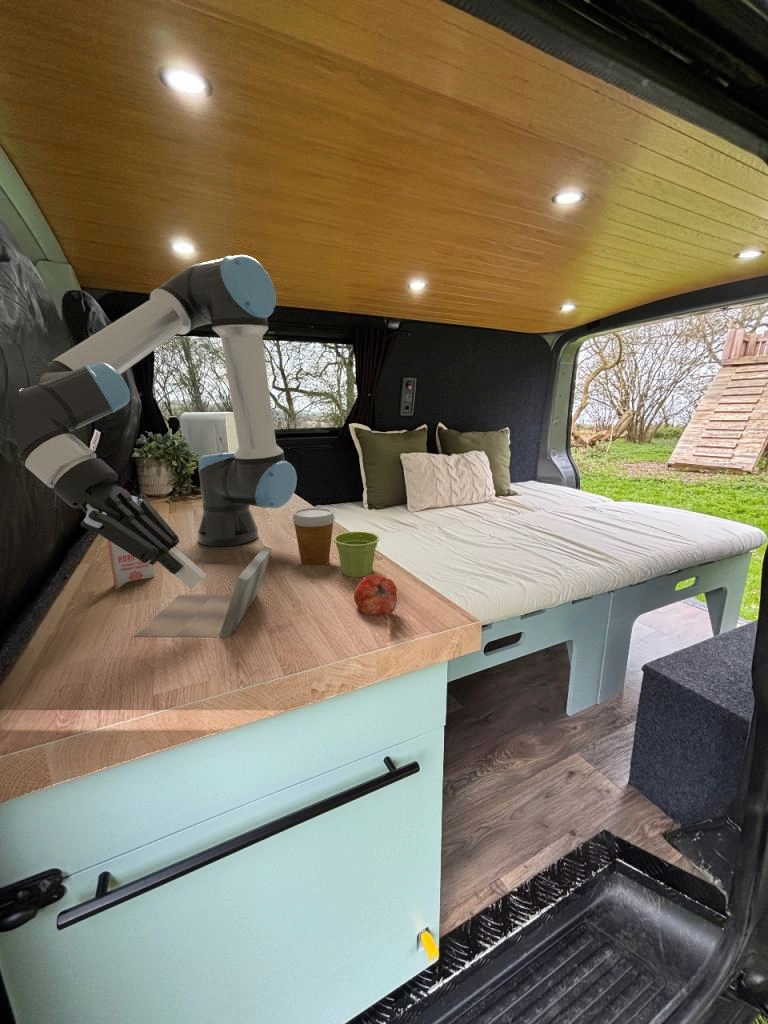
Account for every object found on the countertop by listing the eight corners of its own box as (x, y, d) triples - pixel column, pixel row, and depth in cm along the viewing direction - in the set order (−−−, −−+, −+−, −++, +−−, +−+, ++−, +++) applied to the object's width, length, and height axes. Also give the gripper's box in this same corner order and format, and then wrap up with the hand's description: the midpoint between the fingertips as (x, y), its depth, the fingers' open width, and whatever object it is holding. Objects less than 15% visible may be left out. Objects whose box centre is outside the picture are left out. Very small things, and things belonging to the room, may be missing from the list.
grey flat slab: (256, 597, 74) (248, 595, 73) (272, 548, 71) (264, 545, 71) (228, 639, 60) (219, 636, 60) (247, 580, 58) (237, 577, 58)
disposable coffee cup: (343, 565, 92) (342, 513, 89) (304, 573, 87) (302, 519, 84) (324, 553, 100) (323, 505, 97) (287, 560, 95) (285, 510, 92)
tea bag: (115, 583, 81) (108, 536, 78) (154, 577, 84) (148, 531, 82) (115, 590, 78) (107, 541, 75) (155, 583, 81) (149, 535, 79)
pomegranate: (350, 621, 72) (354, 611, 63) (352, 580, 75) (357, 565, 66) (391, 623, 73) (401, 614, 64) (392, 583, 76) (402, 569, 67)
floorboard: (180, 601, 74) (179, 594, 73) (246, 602, 74) (246, 595, 73) (135, 645, 60) (134, 636, 60) (217, 645, 60) (216, 636, 60)
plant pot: (325, 576, 86) (324, 537, 83) (357, 565, 92) (357, 528, 90) (355, 590, 79) (355, 548, 77) (388, 576, 86) (388, 537, 84)
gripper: (91, 482, 66) (201, 580, 71) (22, 499, 54) (162, 617, 58) (119, 451, 65) (230, 552, 69) (56, 461, 52) (196, 584, 57)
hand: (199, 582), depth 64 cm, fingers closed
